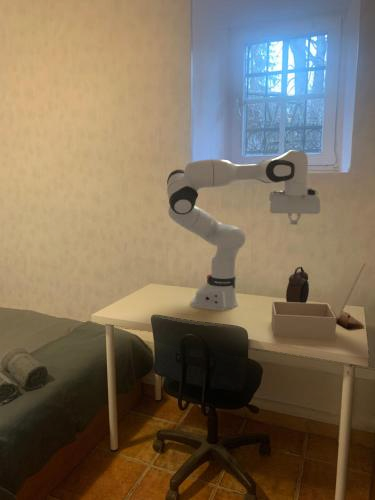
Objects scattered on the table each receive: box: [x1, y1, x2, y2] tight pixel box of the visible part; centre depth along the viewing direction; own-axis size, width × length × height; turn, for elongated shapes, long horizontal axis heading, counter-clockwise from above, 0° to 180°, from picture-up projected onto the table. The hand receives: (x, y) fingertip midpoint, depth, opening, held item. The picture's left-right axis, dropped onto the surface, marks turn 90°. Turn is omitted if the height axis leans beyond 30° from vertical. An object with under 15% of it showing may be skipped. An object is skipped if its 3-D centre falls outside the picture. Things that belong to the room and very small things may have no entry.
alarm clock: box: [285, 266, 310, 303], centre depth 176 cm, size 15×7×20 cm, turn 144°
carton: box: [271, 300, 337, 342], centre depth 149 cm, size 22×16×10 cm
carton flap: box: [327, 253, 366, 318], centre depth 144 cm, size 22×16×1 cm
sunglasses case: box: [330, 307, 365, 330], centre depth 161 cm, size 18×7×7 cm
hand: (293, 224), depth 159 cm, fingers closed
